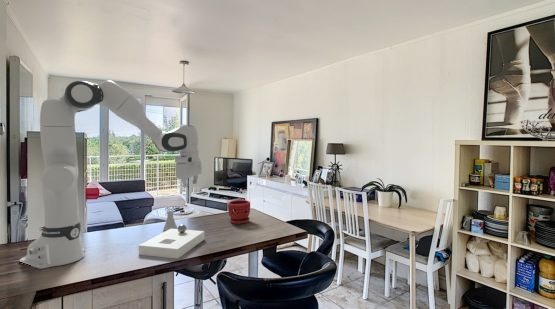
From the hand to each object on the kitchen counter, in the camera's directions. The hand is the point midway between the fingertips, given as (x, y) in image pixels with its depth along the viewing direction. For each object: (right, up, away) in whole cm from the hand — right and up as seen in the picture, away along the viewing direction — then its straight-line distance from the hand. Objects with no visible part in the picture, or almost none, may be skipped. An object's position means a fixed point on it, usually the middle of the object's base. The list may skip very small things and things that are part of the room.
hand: (190, 185), depth 146 cm
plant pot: (+20, -25, +28) cm, 42 cm away
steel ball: (-2, -20, -6) cm, 21 cm away
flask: (-14, -25, +11) cm, 31 cm away
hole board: (-4, -26, -13) cm, 29 cm away
